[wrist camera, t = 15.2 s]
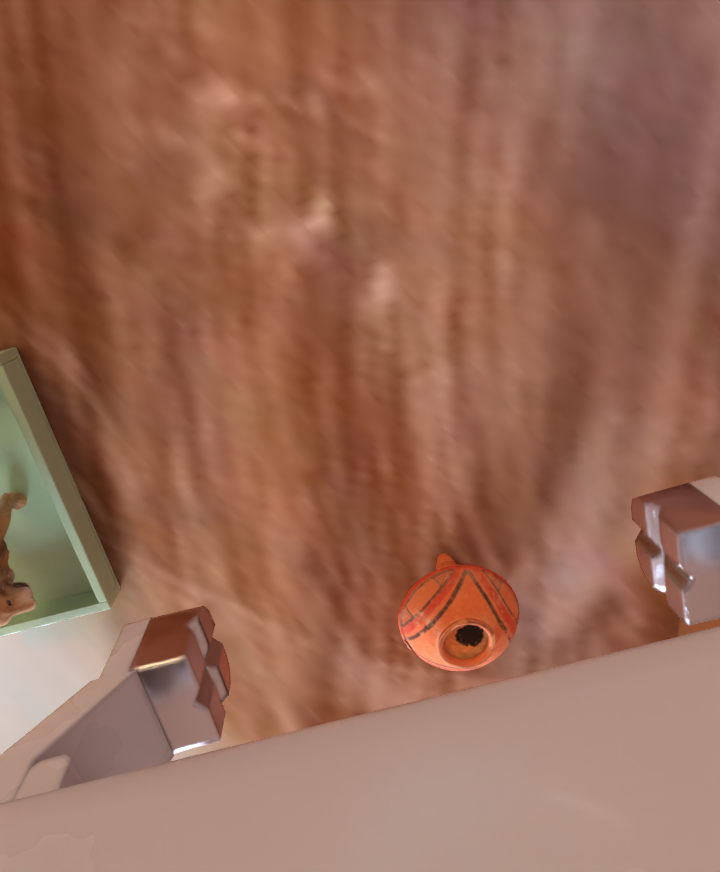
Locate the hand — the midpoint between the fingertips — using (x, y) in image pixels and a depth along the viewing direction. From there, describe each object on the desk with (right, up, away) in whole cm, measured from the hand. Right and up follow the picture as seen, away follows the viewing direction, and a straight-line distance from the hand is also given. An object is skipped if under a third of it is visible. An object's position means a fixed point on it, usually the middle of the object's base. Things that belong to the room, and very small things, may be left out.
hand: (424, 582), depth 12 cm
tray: (-24, -1, +30) cm, 38 cm away
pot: (+5, -8, +34) cm, 35 cm away
